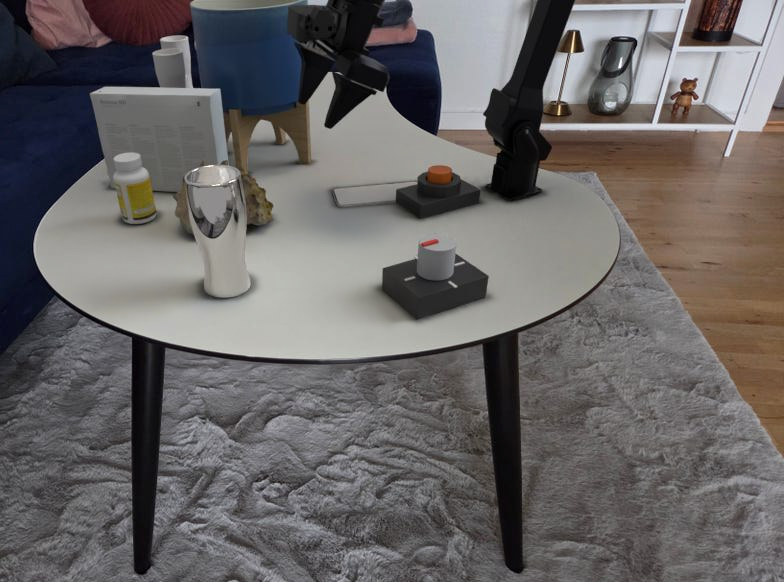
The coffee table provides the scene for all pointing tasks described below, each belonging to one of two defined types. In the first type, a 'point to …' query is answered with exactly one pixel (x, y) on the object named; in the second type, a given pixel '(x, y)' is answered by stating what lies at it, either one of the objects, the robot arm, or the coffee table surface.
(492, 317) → the coffee table surface
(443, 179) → the button
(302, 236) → the coffee table surface
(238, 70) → the planter
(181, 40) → the binoculars
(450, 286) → the timer panel
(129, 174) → the supplement bottle
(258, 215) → the seashell
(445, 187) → the button block
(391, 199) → the smartphone
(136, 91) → the skincare box
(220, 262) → the beer glass
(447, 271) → the timer knob
